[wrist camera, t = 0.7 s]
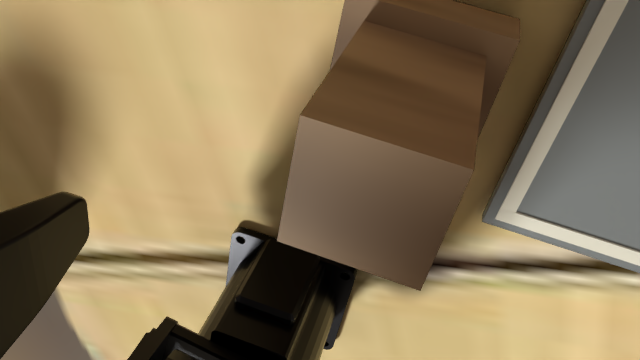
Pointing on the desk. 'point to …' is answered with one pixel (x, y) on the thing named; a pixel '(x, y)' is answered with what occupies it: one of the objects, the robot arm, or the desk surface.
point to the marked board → (582, 145)
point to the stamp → (394, 133)
